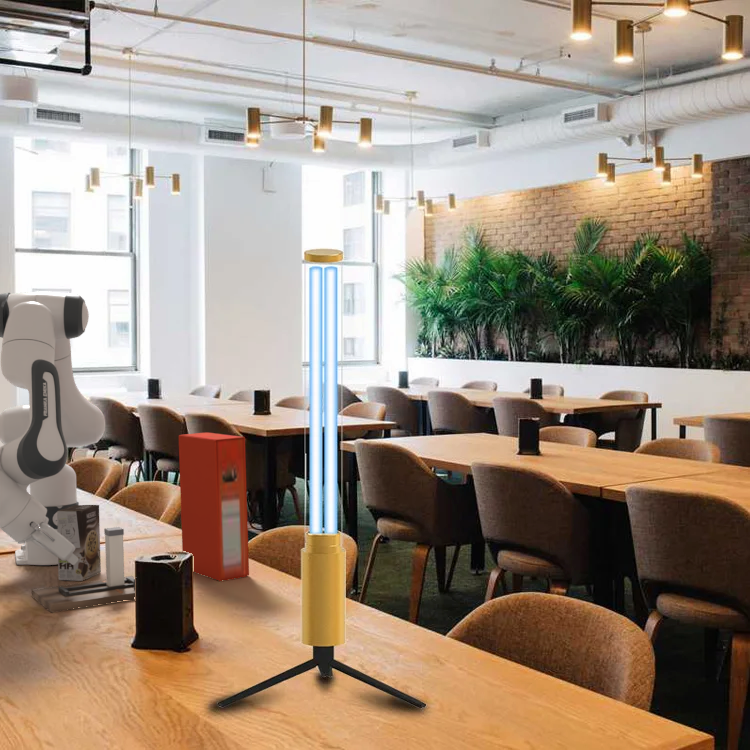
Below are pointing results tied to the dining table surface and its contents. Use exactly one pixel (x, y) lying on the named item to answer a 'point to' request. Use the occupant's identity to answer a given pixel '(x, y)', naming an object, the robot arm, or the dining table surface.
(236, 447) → the file binder
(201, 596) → the dining table surface
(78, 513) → the coffee box
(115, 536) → the fader tab
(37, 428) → the robot arm
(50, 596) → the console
